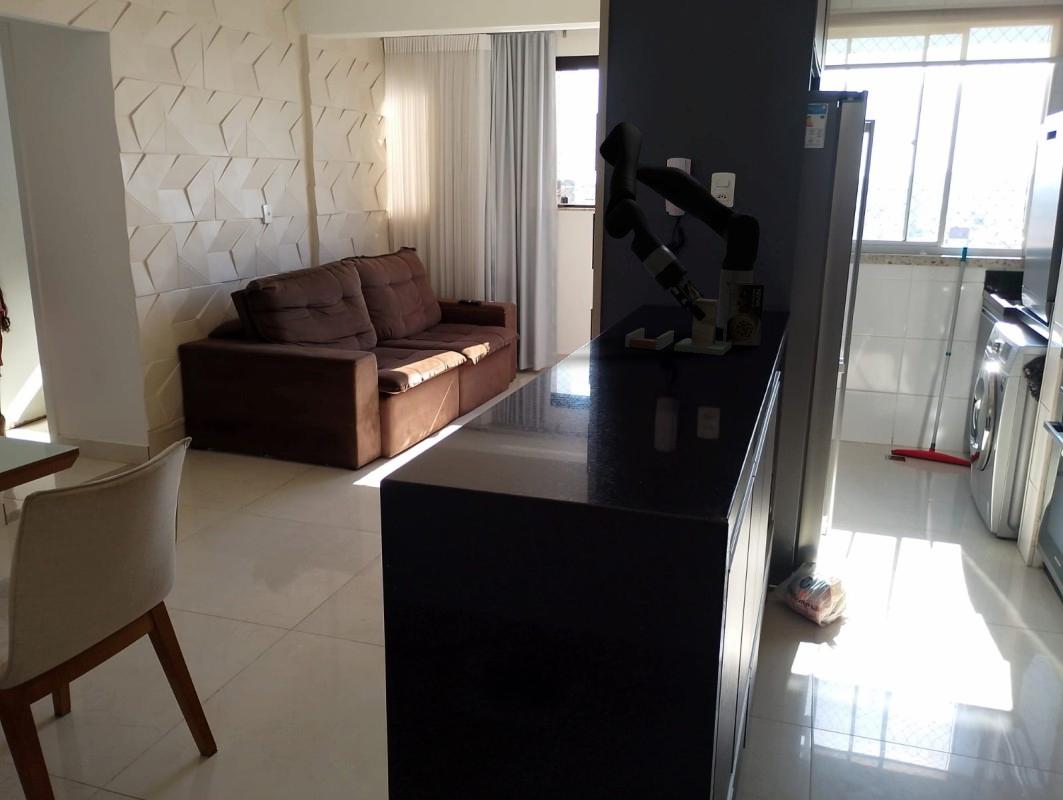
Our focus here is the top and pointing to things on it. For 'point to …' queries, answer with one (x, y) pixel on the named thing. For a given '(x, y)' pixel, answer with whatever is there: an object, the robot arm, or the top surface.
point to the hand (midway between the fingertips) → (706, 316)
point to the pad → (703, 347)
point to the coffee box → (743, 313)
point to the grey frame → (648, 340)
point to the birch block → (705, 323)
